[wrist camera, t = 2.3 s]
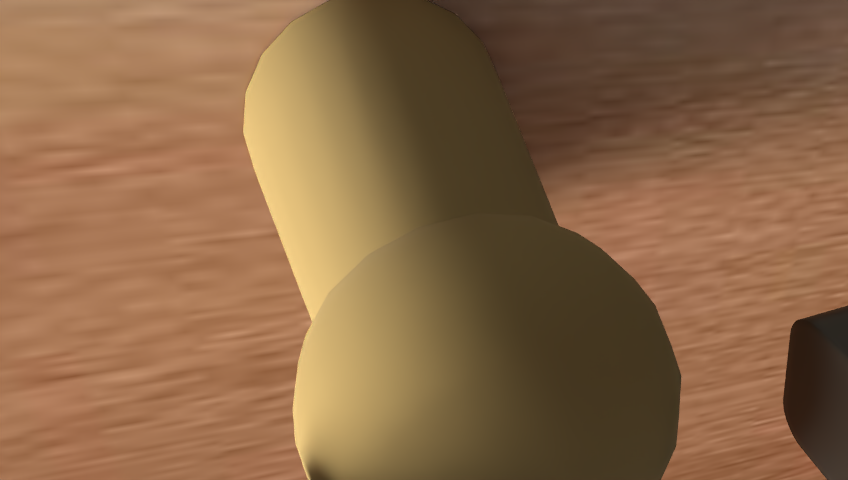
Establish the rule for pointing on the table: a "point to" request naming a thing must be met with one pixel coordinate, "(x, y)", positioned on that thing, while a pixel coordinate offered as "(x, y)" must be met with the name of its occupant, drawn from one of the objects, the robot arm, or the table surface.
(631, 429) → the tan game pawn
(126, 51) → the table surface
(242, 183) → the table surface
